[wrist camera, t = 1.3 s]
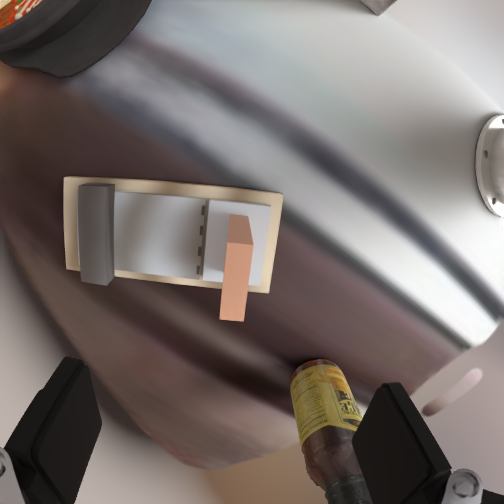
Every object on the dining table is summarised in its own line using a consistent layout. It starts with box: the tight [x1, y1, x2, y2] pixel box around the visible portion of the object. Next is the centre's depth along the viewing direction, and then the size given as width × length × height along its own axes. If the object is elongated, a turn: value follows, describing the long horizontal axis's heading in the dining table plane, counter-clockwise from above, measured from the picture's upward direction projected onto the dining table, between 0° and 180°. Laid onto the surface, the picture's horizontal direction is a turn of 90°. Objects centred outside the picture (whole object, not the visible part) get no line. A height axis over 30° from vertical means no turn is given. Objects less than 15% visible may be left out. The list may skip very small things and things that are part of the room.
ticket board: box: [64, 176, 284, 293], centre depth 25 cm, size 20×9×4 cm, turn 83°
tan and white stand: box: [203, 199, 271, 321], centre depth 23 cm, size 5×7×9 cm
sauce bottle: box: [290, 359, 373, 504], centre depth 24 cm, size 6×6×20 cm
